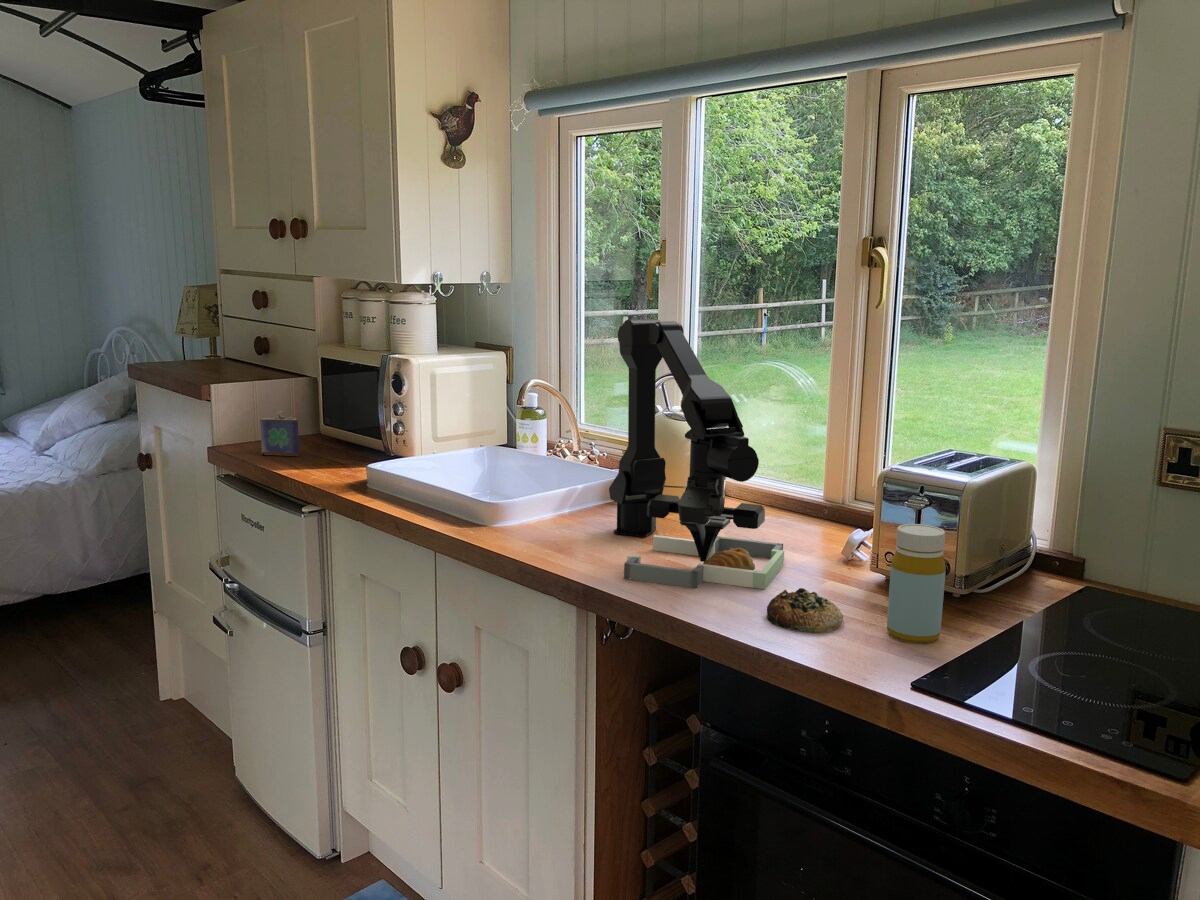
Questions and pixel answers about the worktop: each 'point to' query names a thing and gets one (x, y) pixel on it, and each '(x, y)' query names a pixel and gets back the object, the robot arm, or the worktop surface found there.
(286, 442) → the flask
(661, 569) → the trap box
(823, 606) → the bread roll
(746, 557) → the pastry
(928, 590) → the bottle
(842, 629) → the worktop surface
